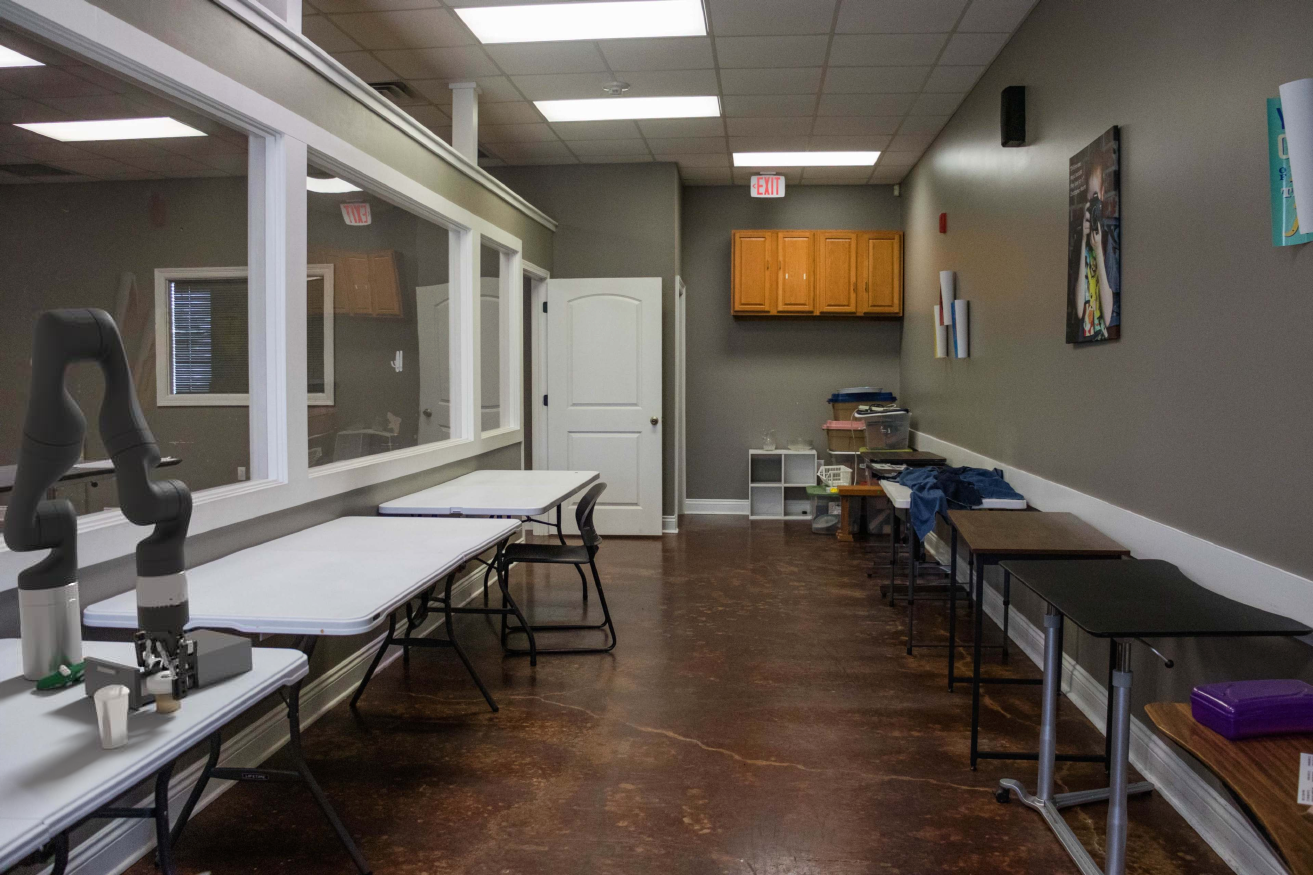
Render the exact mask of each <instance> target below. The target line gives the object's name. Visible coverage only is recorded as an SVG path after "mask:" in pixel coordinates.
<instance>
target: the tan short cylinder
mask: <svg viewBox="0 0 1313 875" xmlns="http://www.w3.org/2000/svg"><path fill="white" fill-rule="evenodd" d="M181 707H182V699H181V700H178V701H176V700H173V698H172V693H166V694H156V700H155V708H156V713H159V714H166V713H172V712H176V711H177V710H180V709H181Z"/></svg>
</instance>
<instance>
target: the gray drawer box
mask: <svg viewBox="0 0 1313 875" xmlns="http://www.w3.org/2000/svg"><path fill="white" fill-rule="evenodd" d="M184 635H185V639H187V640H189V641H190V640H194V639H196V640H197V667H196V673H194V682H195V684H194V685H195V688H197V689H201V688H205V687H208V686H210V685H213V684H215V683H218V682H221V681H223V680H226V679H227V680H228V679H229V678H233V677H235V676H238V675H241V674H244V673H246V672H247V673H248V672H249V671H252V670H253V650H252V639H251V638H249V637H245V636H238V635H235V634H234V635H233V634H229V633H223V632H220V631H218V632H217V631H213V630H208V629H204V628H203V629H202V628H201V629H197V630H195V631H190V632H187V633H184ZM178 658H179V655H178V656H177V657H175V658H172V659H171V660H175V659H178ZM187 665H188V666H189V663H187ZM175 666H176V669H177V670H178V664H176V665H175ZM160 669H161V670H162V671H168V670H169V668H167V667H165V665H164V662H163V665H162V668H160Z"/></svg>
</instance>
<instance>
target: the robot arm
mask: <svg viewBox="0 0 1313 875" xmlns="http://www.w3.org/2000/svg"><path fill="white" fill-rule="evenodd" d="M87 363H88V364H89V363H97V364H98V366H99V367H100V370H101V372H102V375H103V378H104V384H105V385H104V393H103V398H102V403H101V406H100V411H99V416H98V431H99V436H100V439H101V442H102V444H103V446H104V448H105V450H106V452H107V454H108V456H109V458H110V461H111V463H112V465H113V467H114V474H115V476H114V477H115V483H116V490H117V497H118V504H119V510H120V512H121V514H122V515H123V516H124V517H125V518H126V520H128V521H129V522H130V523H131V524H133V525H136V526H139V527H144V526H145V527H146V526H152V525H154V529H153V532H152V533H151V534H150V535H149V536H147V537H145V538H143V539H142V540H140V541H139V542H138V543H137V544H136V547H135V564H136V565H135V566H136V582H135V583H136V584H135V594H136V595H135V596H136V597H135V598H136V610H137V611H136V612H137V628H138V630H140V631H139V632H138V631H137V632H135V633H133V636H132V637H133V643H134V648H135V649H134V650H135V655H136V662H137V663H136V664H137V666H138V667H137V668H143V670H144V671H145V672H146V673H147V678H148V677H149V676H151V675H153V674H156V673H159V672H163V671H162V670H161V669H160V668H162V665H163V662H164V665H165V667H167V668H169V670H170V673H171V676H172V679H171V681H172V698H173V700H176V701H178V700H181V701H182V700H184V699H186V698H187V697H188V694H189V691H188V689H189V688H187V678H188V677H189V676H190V675H192V674H194V675H195V673H196V667H197V640H196V639H194V640H190V641H189V640H187V639H185V635H184V634H185V633H184V627H185V626H186V625H187V624H189V622H190V606H189V605H190V604H189V602H190V601H189V589H188V588H189V587H188V579H187V574H186V564H185V563H186V562H185V543H186V539H187V535H188V531H189V526H190V521H191V517H192V514H193V504H194V502H193V496H192V493H191V491H190V488H188V486H187V485H186V483H184V482H183V481H181V480H179V479H176V478H168V479H162V480H155V481H150V478H149V476H148V475H149V471H151V470H154V469H155V468H156V467H158V466H159V465H160V464H161V461H162V454H161V451H160V448H159V447H158V444H157V442H156V440H155V438H154V435H153V433H152V431H151V429H150V427H149V424H148V423H147V421H146V418H145V416H144V413H143V410H142V407H141V406H140V402H139V398H138V395H137V391H136V387H135V383H134V379H133V375H132V371H131V367H130V365H129V362H128V358H127V354H126V351H125V347H124V343H123V340H122V337H121V334H120V331H119V329H118V326H117V323H116V322H115V321H114V319H113V317H112V316H111V315H110V314H109V313H108V312H107V311H106V310H104V309H101V308H97V307H95V308H94V307H86V308H85V307H84V308H64V309H63V308H57V309H48V310H45V311H43V312H41V313H40V314H39V315H38V317H37V318H36V321H35V322H34V326H33V333H32V345H31V366H30V367H31V368H30V370H31V372H30V384H29V390H28V391H29V392H28V399H27V406H26V410H25V415H24V418H23V419H24V420H23V424H22V430H21V435H20V441H19V442H20V443H19V450H18V451H19V452H18V460H17V466H16V472H15V477H14V481H13V484H12V485H13V486H12V489H11V492H10V495H9V499H8V502H7V505H6V509H5V512H4V516H3V524H2V536H3V541H4V544H5V545H6V547H7V548H8V549H9V550H10V551H12V552H15V553H29V552H30V553H31V552H35V551H43V550H50V549H51V550H50V552H49V554H48V555H47V556H45V558H43V559H42V560H40V561H39V562H38V563H35V564H34V565H32V566H29V567H27V568H25V569H23V570H22V571H20V572H19V573H18V575H17V592H18V603H19V616H20V617H19V618H20V619H19V620H20V628H19V629H20V639H21V652H22V653H21V655H22V668H23V671H22V672H23V675H24V676H23V677H24V679H25V680H27V681H28V680H29V681H39V680H41V679H42V678H44V677H47V676H49V675H52V674H54V673H56V672H57V671H58V670H59V669H60V666H61V665H64V666H65V667H67V668H68V667H71V666H73V665H76V664H78V663H81V662H83V658H84V656H83V643H82V642H83V641H82V630H81V629H82V628H81V626H82V625H81V614H80V613H81V612H80V596H79V582H78V565H79V564H78V563H79V560H78V559H79V558H78V516H77V511H76V509H75V507H74V504H73V503H72V502H71V501H70V500H68V499H65V498H64V499H63V498H56V499H46V500H41V499H42V498H43V496H44V495H45V494H46V492H47V491H48V490H49V489H50V488H51V487H53V485H54V484H56V483H57V482H58V481H59V480H60V479H61V478H63V477H64V476H65V475H66V474H67V473H68V472H69V471H70V470H71V469H72V468H73V467H74V466H75V465H76V463H77V462H79V460H80V458H81V455H82V453H83V451H84V450H83V449H84V445H85V440H86V436H87V432H88V431H87V430H88V428H87V427H88V423H87V420H86V417H85V414H84V413H83V411H82V410H81V408H80V407H79V405H78V404H77V403H76V401H75V400H74V399H73V397H72V396H71V394H70V393H69V392H68V390H67V388H66V385H65V383H66V382H65V380H66V378H65V377H66V371H67V369H68V367H69V366H70V365H78V364H87ZM178 655H179V658H178V659H175V660H171V659H172V658H175V657H177V656H178ZM187 663H189V665H187ZM176 664H178V668H177V669H176V666H175V665H176ZM177 670H178V671H177Z"/></svg>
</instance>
